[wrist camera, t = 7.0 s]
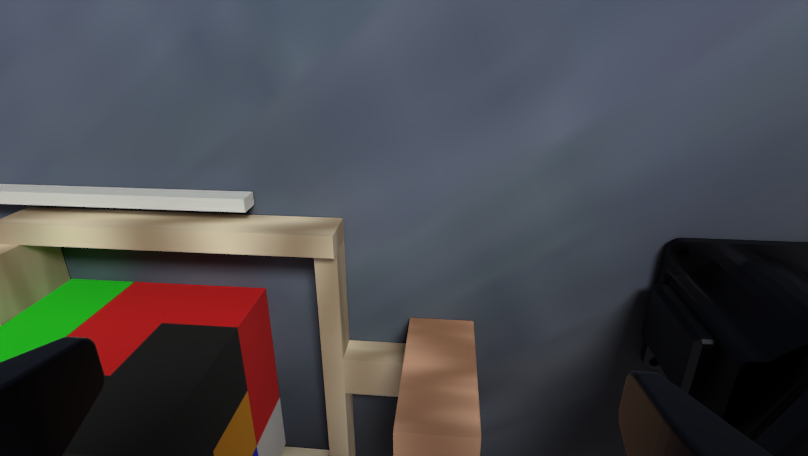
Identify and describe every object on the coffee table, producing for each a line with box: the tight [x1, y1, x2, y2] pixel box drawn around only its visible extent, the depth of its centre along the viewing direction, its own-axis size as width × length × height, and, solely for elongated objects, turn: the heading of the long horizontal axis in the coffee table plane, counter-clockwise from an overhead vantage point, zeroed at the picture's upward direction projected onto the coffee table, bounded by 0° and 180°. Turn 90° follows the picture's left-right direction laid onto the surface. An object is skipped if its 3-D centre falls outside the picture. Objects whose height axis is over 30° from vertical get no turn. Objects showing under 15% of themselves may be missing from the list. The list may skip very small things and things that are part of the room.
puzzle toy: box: [0, 279, 286, 456], centre depth 21 cm, size 10×10×10 cm
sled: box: [0, 207, 481, 456], centre depth 21 cm, size 21×15×7 cm
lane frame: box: [0, 184, 254, 213], centre depth 26 cm, size 19×24×1 cm
